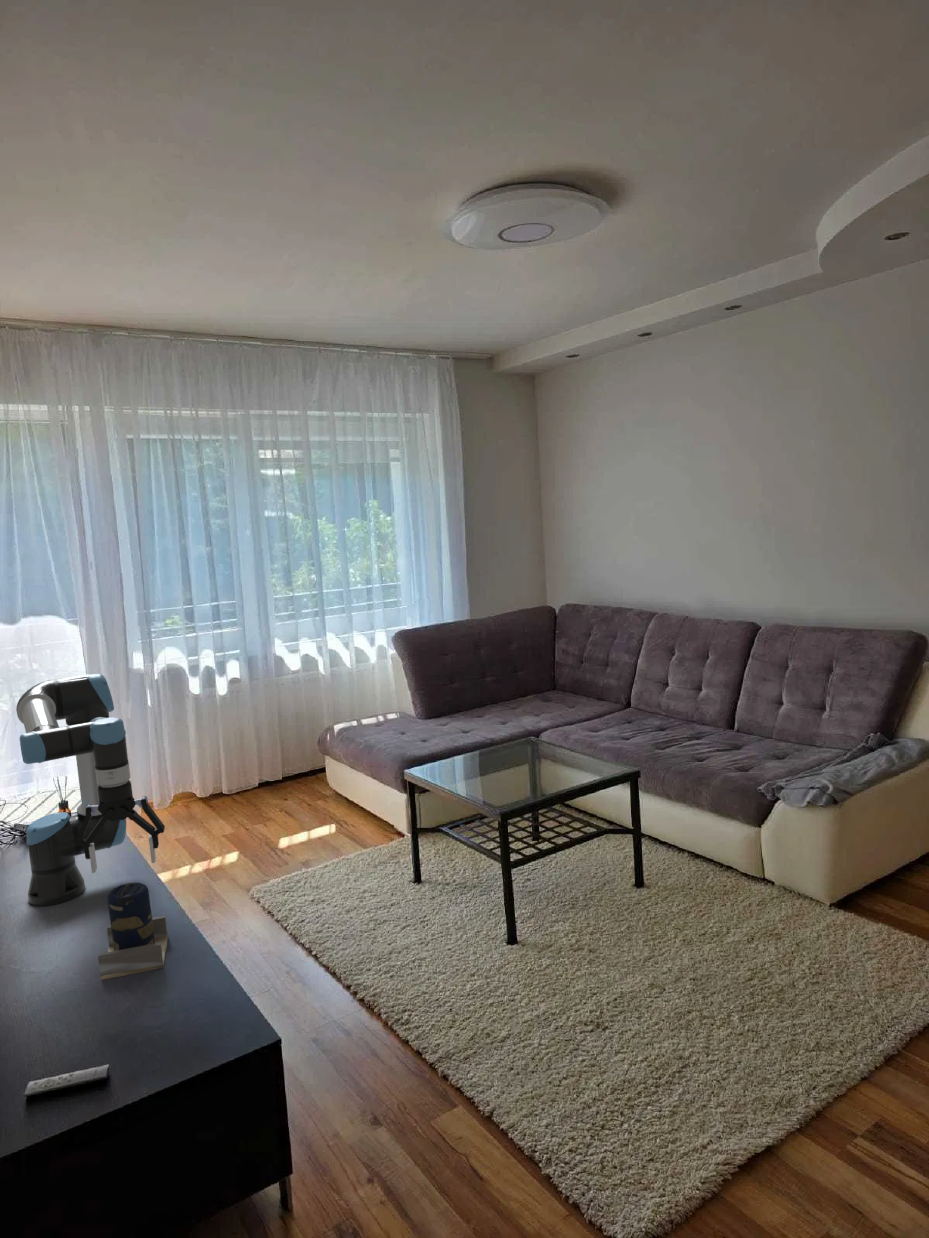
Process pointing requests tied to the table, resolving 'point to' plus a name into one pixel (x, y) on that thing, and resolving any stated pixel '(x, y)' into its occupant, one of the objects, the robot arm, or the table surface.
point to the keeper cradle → (135, 954)
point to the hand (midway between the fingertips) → (124, 865)
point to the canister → (130, 916)
